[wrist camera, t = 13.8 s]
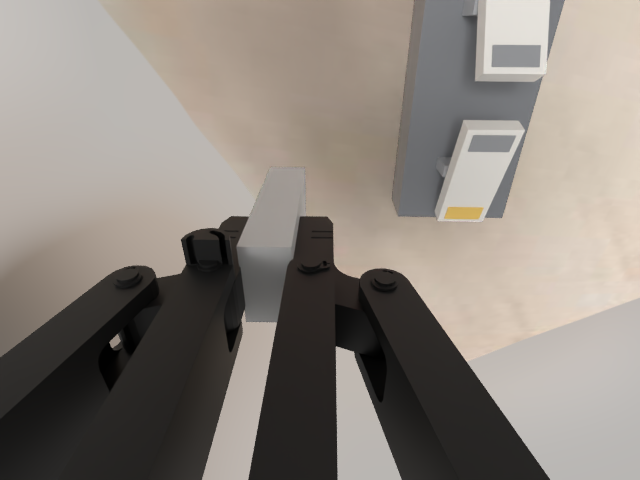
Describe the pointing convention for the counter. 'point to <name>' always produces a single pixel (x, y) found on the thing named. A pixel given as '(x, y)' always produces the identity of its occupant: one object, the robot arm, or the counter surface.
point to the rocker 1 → (512, 40)
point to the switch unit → (451, 103)
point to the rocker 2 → (477, 168)
